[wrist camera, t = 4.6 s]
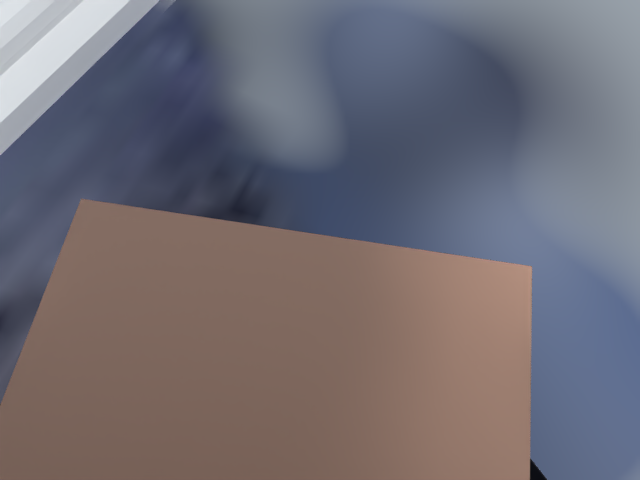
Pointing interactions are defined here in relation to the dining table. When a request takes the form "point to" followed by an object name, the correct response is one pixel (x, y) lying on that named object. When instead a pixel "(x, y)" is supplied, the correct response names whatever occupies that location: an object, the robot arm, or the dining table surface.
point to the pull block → (267, 358)
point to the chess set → (53, 51)
